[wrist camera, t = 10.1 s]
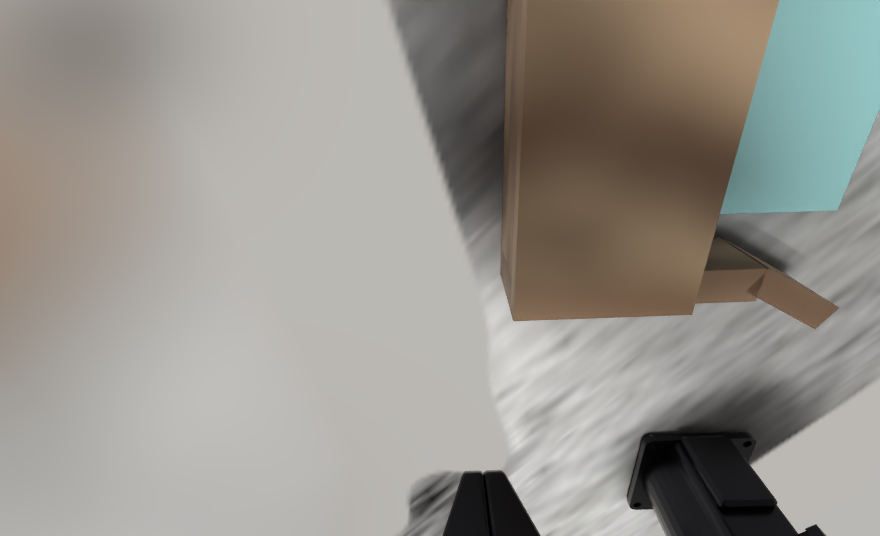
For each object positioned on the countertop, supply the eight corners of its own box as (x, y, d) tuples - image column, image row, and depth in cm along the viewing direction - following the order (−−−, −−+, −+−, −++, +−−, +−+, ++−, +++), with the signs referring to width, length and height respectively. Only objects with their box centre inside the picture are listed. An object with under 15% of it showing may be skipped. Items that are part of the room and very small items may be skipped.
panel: (799, 195, 19) (837, 210, 17) (533, 205, 19) (543, 220, 17) (877, -17, 15) (935, -27, 13) (548, -2, 15) (562, -10, 14)
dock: (775, 290, 20) (845, 340, 17) (499, 300, 21) (512, 351, 17) (940, -149, 13) (1127, -226, 9) (510, -123, 13) (535, -188, 10)
